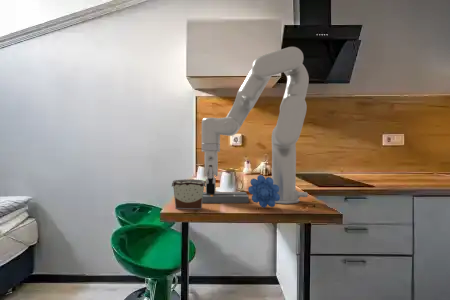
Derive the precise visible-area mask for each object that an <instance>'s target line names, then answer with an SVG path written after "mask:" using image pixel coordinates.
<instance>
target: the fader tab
mask: <svg viewBox="0 0 450 300" xmlns="http://www.w3.org/2000/svg"><path fill="white" fill-rule="evenodd" d="M216 179H217V178H216V177H214V184H215V193H214V194H216V192H217V191H216V187H217V186H216V184H217V183H216V181H217V180H216ZM205 186H206V187H205V192H206V194H207V177H206V178H205ZM208 195H213V194H208Z"/></svg>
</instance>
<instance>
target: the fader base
mask: <svg viewBox="0 0 450 300" xmlns="http://www.w3.org/2000/svg"><path fill="white" fill-rule="evenodd" d="M230 203H231V204H248V203H249V195H248V194H247V192H246V191H216V194H213V195H208V194H206V191H203V200H202V204H230Z"/></svg>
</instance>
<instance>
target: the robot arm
mask: <svg viewBox="0 0 450 300" xmlns="http://www.w3.org/2000/svg"><path fill="white" fill-rule="evenodd" d="M303 63H304V53H303V51H302V50H301V49H300V48H299V47H296V46H288V47H285V48H282V49H279V50H275V51H273V52H270V53H266V54H264V55H263V54H262V55H261V56H258V57H256V59H254V60H253V62H252V66H251V69H250V71H249V72H248V74H247V75H246V77H245V79H244V81H243V83H242V84H241V85H240V88H239V89H238V90H237V93H236V96H235V99H234V103H233V105H232V107H231V109H230V110H229V112H228V113H227V115H226V116H225V117H220V118H218V117H204V118H202V120H201V153H204V172H205V176H206V178H207V194H214V193H215V184H214V178H215V177H218V176H219V175H218V171H219V168H218V167H219V165H218V164H219V162H218V161H219V160H218V159H219V158H218V153H220V152H221V135H222V136H227V137H233V136H235V135H237V133H238V132H239V130H240V129H241V127H242V125H243V123H244V122H245V120H246V119H247V117H248V115H249V114H250V112H251V111H252V110H253V108H254V107H255V105H256V103H257V102H258V100H259V98H260V96H261V94H262V93H263V92H264V89H265V88H266V87H267V85H268V83H269V81H270V79H271V78H272V76H275V75H276V76H277V75H279V74H282V73H284V75H285V76H286V85H285V90H284V94H283V97H282V100H281V103H280V105H279V114H278V117H277V121H276V126H274V128H273V129H272V131H271V178H272V179H273V181H274V183H273V184H276V185H278V186H279V192H277V193H278V194H279V195H280V200H279V201H275V204H282V205H284V204H285V205H286V204H287V205H288V204H297V203H299V202H300V198H308V192H307V191H298V190H297V189H296V187H297V186H296V181H297V180H296V179H297V175H296V173H297V172H296V171H297V148H296V147H297V146H296V145H297V144H296V143H297V142H298V140H299V138H300V136H301V133H302V129H303V125H304V123H305V118H306V114H307V107H308V106H307V102H306V98H307V92H308V88H309V81H310V79H309V78H310V77H309V73H308V70H307V68H306V67H305V65H304V64H303Z"/></svg>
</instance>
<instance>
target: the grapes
mask: <svg viewBox="0 0 450 300" xmlns="http://www.w3.org/2000/svg"><path fill="white" fill-rule="evenodd" d="M273 183H274V181H273V179H272V177H270V176H269V177H266V178H265V176H264V175H262V174H259V175H257V177H256V178H251V179H250V186H249V187H248V190H247V191H248V193H249V194H250V195H251V200H252V202H253V203H256V204H259V206H260V207H261V208H264V209H265V208H266V207H271V208H273V207H276V203H275V201H279V200H280V195H279V194H278V193H277V192H279V186H278V185H276V184H273Z"/></svg>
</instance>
